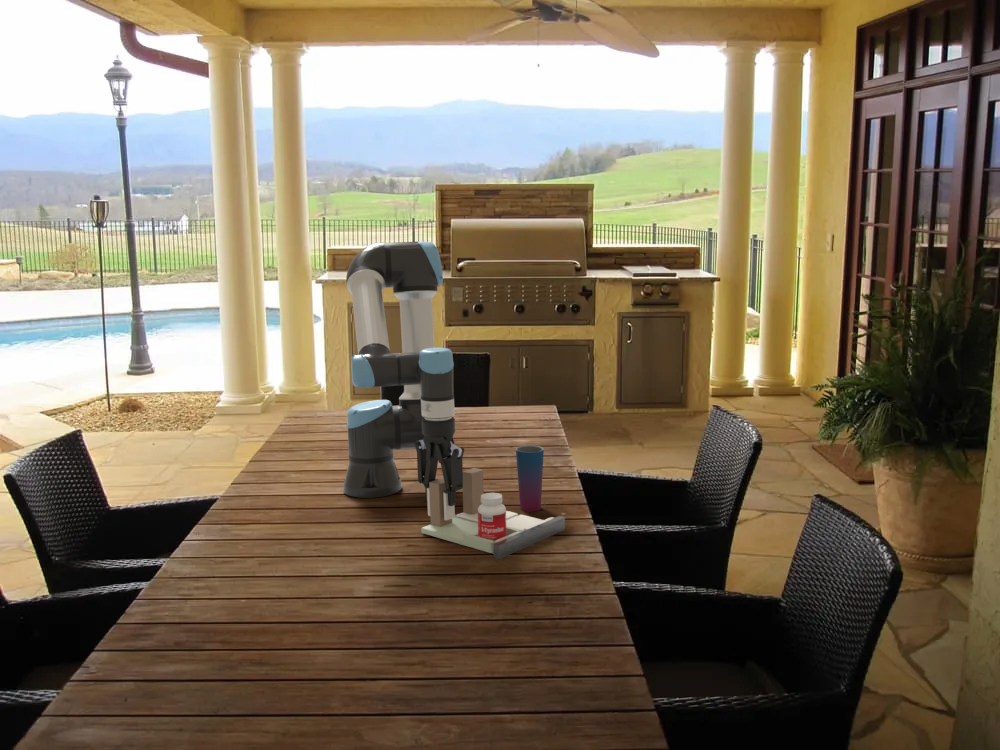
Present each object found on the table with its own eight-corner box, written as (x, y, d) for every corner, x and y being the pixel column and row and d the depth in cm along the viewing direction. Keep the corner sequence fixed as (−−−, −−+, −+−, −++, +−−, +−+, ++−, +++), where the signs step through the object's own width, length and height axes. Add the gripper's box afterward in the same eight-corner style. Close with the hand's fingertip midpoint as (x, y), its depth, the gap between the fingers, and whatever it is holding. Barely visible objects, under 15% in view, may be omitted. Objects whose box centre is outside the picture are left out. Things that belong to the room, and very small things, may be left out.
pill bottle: (478, 549, 204) (477, 500, 202) (478, 539, 210) (476, 491, 208) (507, 548, 204) (506, 499, 202) (506, 538, 210) (505, 491, 209)
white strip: (493, 530, 215) (493, 520, 215) (521, 519, 222) (521, 509, 222) (527, 539, 209) (527, 529, 208) (555, 527, 216) (554, 517, 216)
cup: (542, 513, 227) (541, 452, 225) (514, 512, 229) (513, 451, 226) (546, 504, 234) (545, 445, 231) (519, 503, 235) (518, 444, 233)
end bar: (493, 557, 199) (493, 543, 199) (559, 528, 216) (559, 515, 216) (499, 559, 198) (498, 545, 198) (564, 529, 215) (564, 517, 215)
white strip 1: (454, 520, 223) (453, 474, 221) (483, 509, 230) (481, 465, 228) (490, 529, 216) (488, 482, 214) (517, 518, 223) (517, 472, 221)
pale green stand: (421, 532, 214) (419, 485, 213) (451, 521, 222) (450, 475, 220) (494, 554, 200) (493, 503, 198) (524, 541, 208) (523, 492, 206)
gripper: (398, 415, 216) (402, 513, 220) (455, 425, 204) (458, 528, 208) (422, 409, 221) (425, 505, 225) (478, 419, 210) (480, 519, 214)
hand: (441, 516), depth 217 cm, fingers open, 4 cm apart
